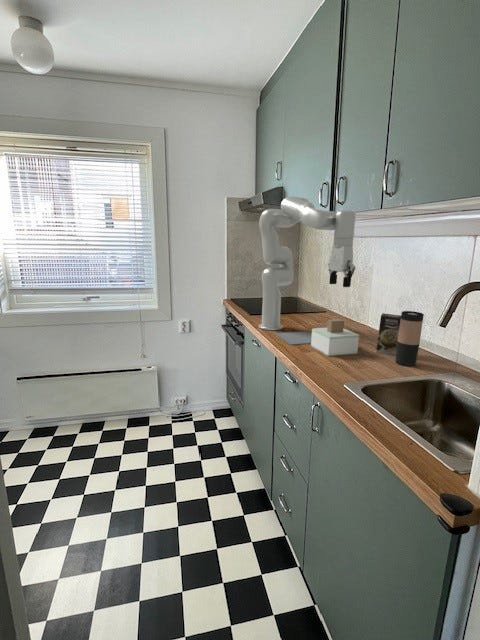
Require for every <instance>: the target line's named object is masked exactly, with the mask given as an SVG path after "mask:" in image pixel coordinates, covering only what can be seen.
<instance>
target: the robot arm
mask: <svg viewBox="0 0 480 640" xmlns="http://www.w3.org/2000/svg"><path fill="white" fill-rule="evenodd" d="M299 222H301V223H302V224H303V225H305V226H307V227H309V228H312V229H315V230H320V231H321V230H322V231H334V233H333V234H334V235H333V242H332V243H333V245H332V248H331V251H330V256H329V263H328V264H327V266H328V272H329V274H328V275H329V281H328V282H329V283H328V284H330V285H337V282H338V273H339V272H340V273H341V272H342V273H343V280H342V287H343V288H351V285H352V283H351V282H352V277H353V275H354V273H355V270H356V265H355V264H354V249H353V247H354V238H355V237H354V236H355V227H356V211H353V210H339V211H331V210H322V209H318V208H317V209H316V208H315V205H314V204H313V203H312V202H310V201H309V200H308V199H307V198H304V197H299V196H287V197H285V198H283V200H282V201H281V203H280V209H278V208H268V209H266V210H264V211H263V212H262V213H261V214H260V217H259V222H258V226H259V232H260V235H261V246H262V259H263V262H264V263H265V264H266V265H269V266H272V265H273V266H274V265H275V267H268V268H265V269H264V270H262V273H261V284H262V285H261V286H262V304H261V305H262V309H261V323H259V324H258V328H259V329H261V330H264V331H280V330H282V329H283V327H284V326H283V325H282V324H280V322H281V307H282V306H281V305H282V293H281V290H280V288H279V287H281V286H289V285H291V284H292V283H293V281H294V278H295V277H294V275H295V274H294V273H295V272H294V259H293V257H294V256H293V253H292V250H291V249H290V248H289V247H288V246H284V245H280V240H279V238H280V237H279V234H278V232H277V231H276V230H275V228H285V229H286V228H291V227H293V226H294V225H296V224H298V223H299ZM276 265H277V266H276ZM278 266H279V267H278Z"/></svg>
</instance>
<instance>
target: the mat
mask: <svg viewBox="0 0 480 640" xmlns="http://www.w3.org/2000/svg"><path fill="white" fill-rule="evenodd" d="M274 334H275V336H277V337H279V338H280V339H281V340H283V341H285V343H287V344H289V345H291V346H298V345H311V338H312V332H309V331H293V332H277V333H274Z"/></svg>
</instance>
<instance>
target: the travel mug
mask: <svg viewBox="0 0 480 640" xmlns="http://www.w3.org/2000/svg"><path fill="white" fill-rule="evenodd" d="M400 316H401V320H400V327H399V334H398V341H397V350H396V355H395V364H398V365H399V366H403V367H415V366H416V364H417V360H418V355H419V349H420V344H421V343H420V342H421V337H422V336H421V335H422V330H423V329H422V327H423V322H424V316H425V315H424V313H423V312H419V311H411V310H403V311H401V314H400Z"/></svg>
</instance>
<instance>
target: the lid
mask: <svg viewBox="0 0 480 640" xmlns="http://www.w3.org/2000/svg"><path fill="white" fill-rule="evenodd" d="M344 326H345V320H343V319H341V318H337V319H336V318H335V319H334V318H333V319H327V326H326V327H315V328H312V329H311V332H312V331H314V332H316V333H318V334H320V335H322V336H324V337H326V338H328V339H343V338H356V337H359V338H360V334H357V333H355V332H353V331H350V330H348V329H345V328H344Z"/></svg>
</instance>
